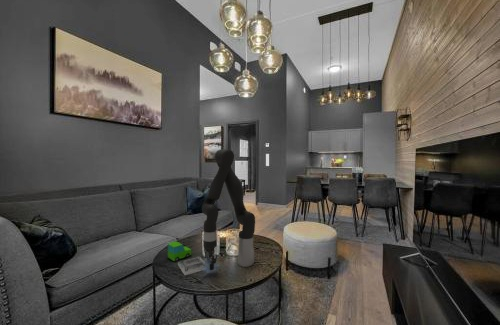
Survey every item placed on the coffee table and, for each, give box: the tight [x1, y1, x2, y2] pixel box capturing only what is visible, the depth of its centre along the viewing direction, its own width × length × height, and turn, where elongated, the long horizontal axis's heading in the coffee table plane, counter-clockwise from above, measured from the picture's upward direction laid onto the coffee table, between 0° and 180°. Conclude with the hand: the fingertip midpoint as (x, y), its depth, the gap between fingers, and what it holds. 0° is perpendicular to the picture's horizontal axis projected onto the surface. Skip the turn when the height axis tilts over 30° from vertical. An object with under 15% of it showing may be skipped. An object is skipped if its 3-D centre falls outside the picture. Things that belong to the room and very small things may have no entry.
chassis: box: [177, 255, 205, 276], centre depth 131 cm, size 14×14×3 cm
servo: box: [201, 260, 220, 274], centre depth 122 cm, size 10×4×6 cm, turn 123°
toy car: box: [167, 241, 192, 263], centre depth 143 cm, size 10×13×10 cm
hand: (210, 268), depth 122 cm, fingers closed on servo, 3 cm apart
